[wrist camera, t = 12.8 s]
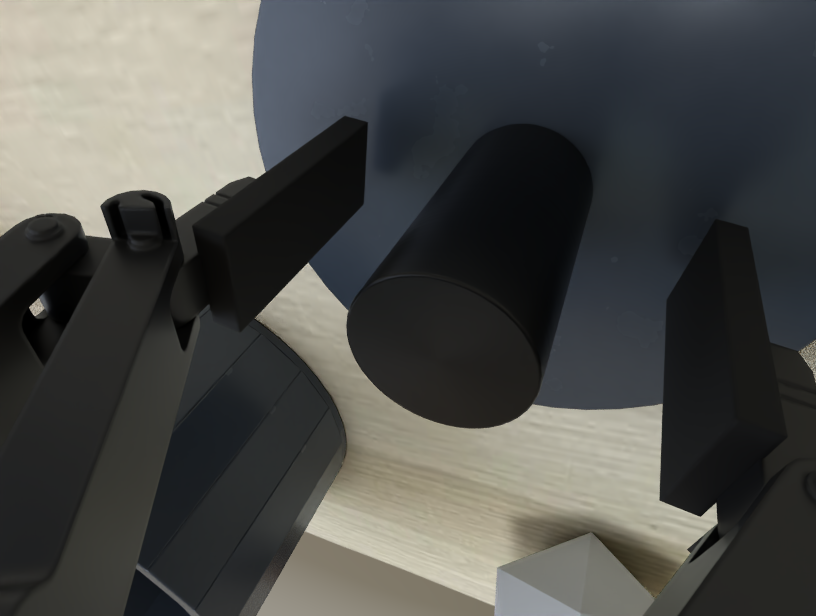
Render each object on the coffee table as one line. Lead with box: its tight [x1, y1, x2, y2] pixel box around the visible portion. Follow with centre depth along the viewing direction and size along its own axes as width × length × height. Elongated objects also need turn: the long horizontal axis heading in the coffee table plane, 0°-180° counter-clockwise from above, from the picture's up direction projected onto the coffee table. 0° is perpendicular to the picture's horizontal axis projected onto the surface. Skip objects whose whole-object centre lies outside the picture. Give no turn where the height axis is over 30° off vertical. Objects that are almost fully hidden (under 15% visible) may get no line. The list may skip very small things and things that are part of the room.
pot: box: [123, 305, 346, 616], centre depth 29 cm, size 18×18×12 cm
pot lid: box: [252, 0, 816, 428], centre depth 13 cm, size 19×19×9 cm
